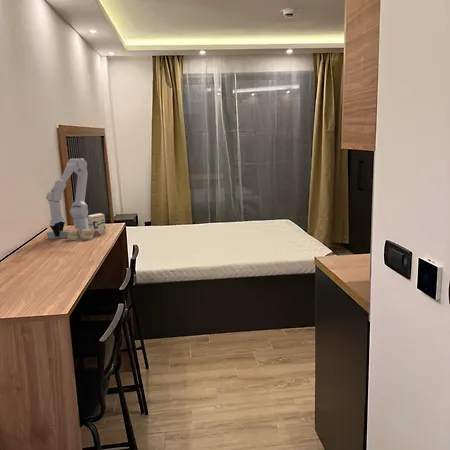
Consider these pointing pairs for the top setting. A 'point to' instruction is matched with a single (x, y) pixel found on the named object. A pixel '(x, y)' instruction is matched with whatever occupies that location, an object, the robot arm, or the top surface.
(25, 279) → the top surface
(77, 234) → the cube left
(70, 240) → the mat
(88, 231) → the cube right
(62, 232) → the lintel
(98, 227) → the ink box
